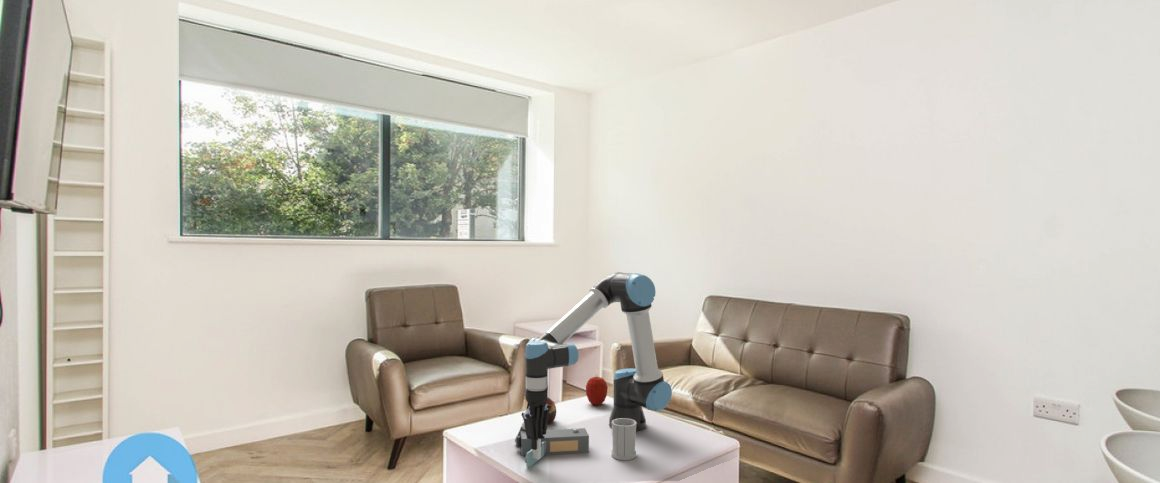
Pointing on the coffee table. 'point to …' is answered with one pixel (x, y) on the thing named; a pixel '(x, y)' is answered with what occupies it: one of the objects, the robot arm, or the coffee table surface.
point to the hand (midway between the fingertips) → (536, 457)
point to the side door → (530, 460)
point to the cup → (623, 438)
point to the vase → (551, 410)
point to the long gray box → (558, 441)
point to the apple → (596, 390)
